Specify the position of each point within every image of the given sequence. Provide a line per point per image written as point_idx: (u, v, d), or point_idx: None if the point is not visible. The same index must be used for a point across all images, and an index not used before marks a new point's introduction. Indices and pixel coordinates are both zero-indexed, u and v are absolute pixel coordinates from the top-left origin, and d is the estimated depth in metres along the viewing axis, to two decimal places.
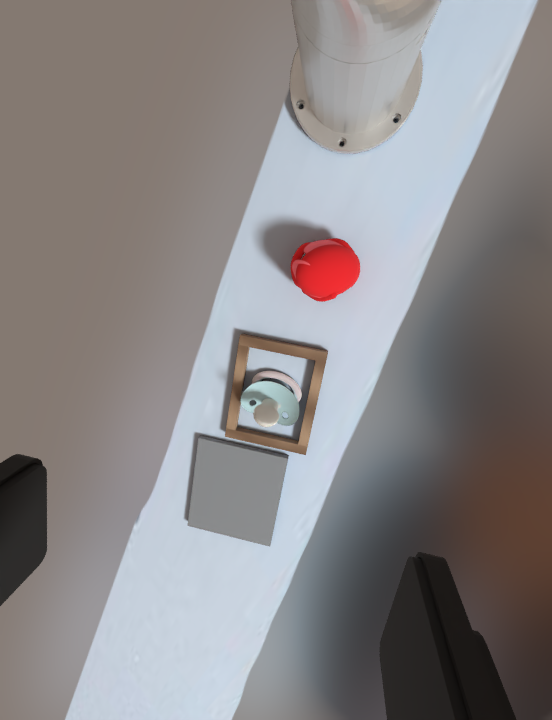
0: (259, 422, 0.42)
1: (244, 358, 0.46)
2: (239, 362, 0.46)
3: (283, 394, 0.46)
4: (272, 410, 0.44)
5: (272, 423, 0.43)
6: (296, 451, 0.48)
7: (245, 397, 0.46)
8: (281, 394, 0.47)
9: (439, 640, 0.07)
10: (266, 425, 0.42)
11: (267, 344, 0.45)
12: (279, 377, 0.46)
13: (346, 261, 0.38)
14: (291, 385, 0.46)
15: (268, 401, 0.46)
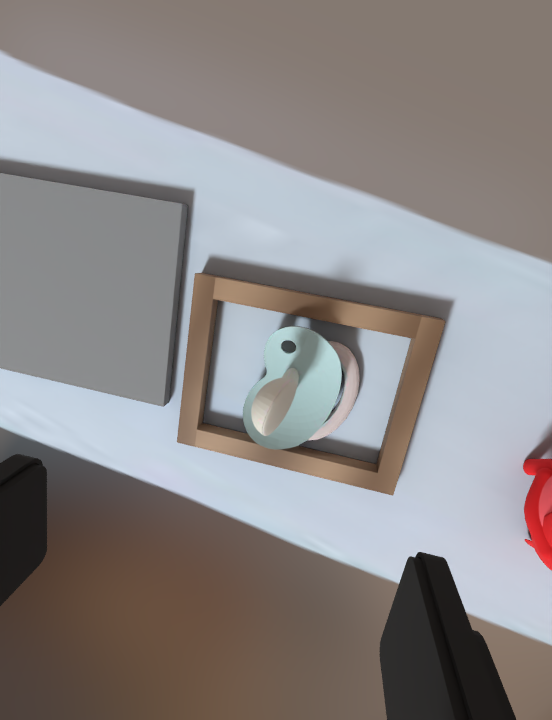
0: (265, 407, 0.17)
1: (387, 329, 0.20)
2: (377, 316, 0.20)
3: (309, 411, 0.22)
4: (285, 413, 0.19)
5: (263, 432, 0.18)
6: (181, 425, 0.24)
7: (303, 336, 0.20)
8: (309, 406, 0.22)
9: (439, 640, 0.07)
10: (258, 422, 0.17)
11: (418, 381, 0.21)
12: (345, 402, 0.22)
13: None
14: (328, 424, 0.22)
15: None
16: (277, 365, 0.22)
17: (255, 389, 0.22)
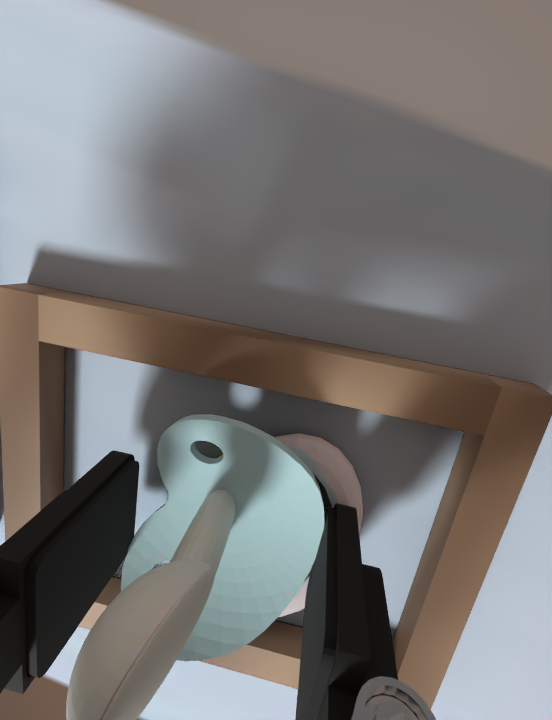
0: (86, 715, 0.06)
1: (419, 412, 0.09)
2: (398, 385, 0.09)
3: (259, 575, 0.11)
4: (186, 640, 0.08)
5: None
6: None
7: (235, 437, 0.09)
8: (258, 565, 0.11)
9: (331, 565, 0.08)
10: None
11: (485, 523, 0.09)
12: None
13: None
14: (299, 595, 0.11)
15: (225, 542, 0.09)
16: (188, 484, 0.10)
17: (147, 528, 0.11)
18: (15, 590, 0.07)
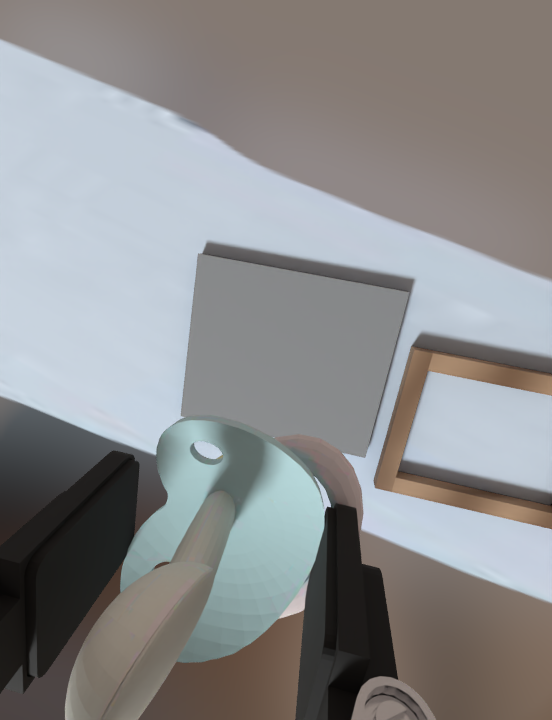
0: (85, 719, 0.06)
1: None
2: None
3: (259, 576, 0.11)
4: (185, 642, 0.08)
5: None
6: (381, 474, 0.27)
7: (234, 438, 0.09)
8: (258, 567, 0.11)
9: (330, 565, 0.08)
10: None
11: None
12: None
13: None
14: (299, 597, 0.11)
15: (224, 543, 0.09)
16: (188, 485, 0.10)
17: (147, 529, 0.11)
18: (15, 590, 0.07)
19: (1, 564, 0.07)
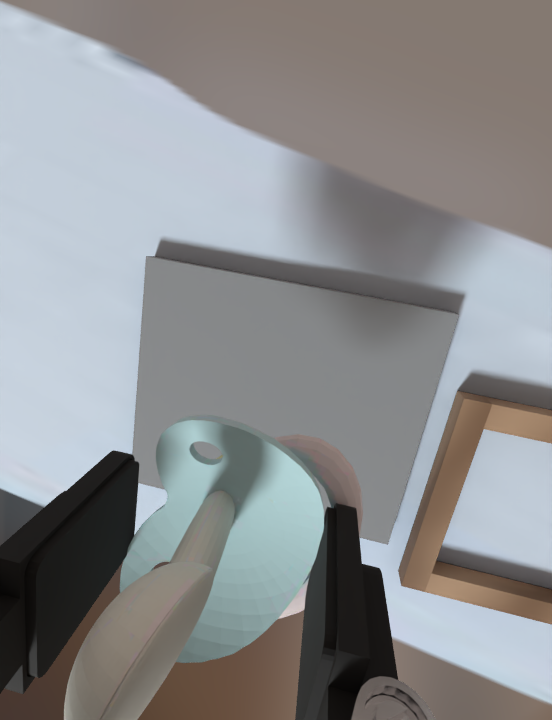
0: (84, 719, 0.06)
1: None
2: None
3: (259, 576, 0.11)
4: (185, 642, 0.08)
5: None
6: (411, 568, 0.19)
7: (234, 438, 0.09)
8: (258, 567, 0.11)
9: (330, 565, 0.08)
10: None
11: None
12: None
13: None
14: (298, 597, 0.11)
15: (224, 543, 0.09)
16: (187, 485, 0.10)
17: (146, 529, 0.11)
18: (15, 590, 0.07)
19: (1, 564, 0.07)
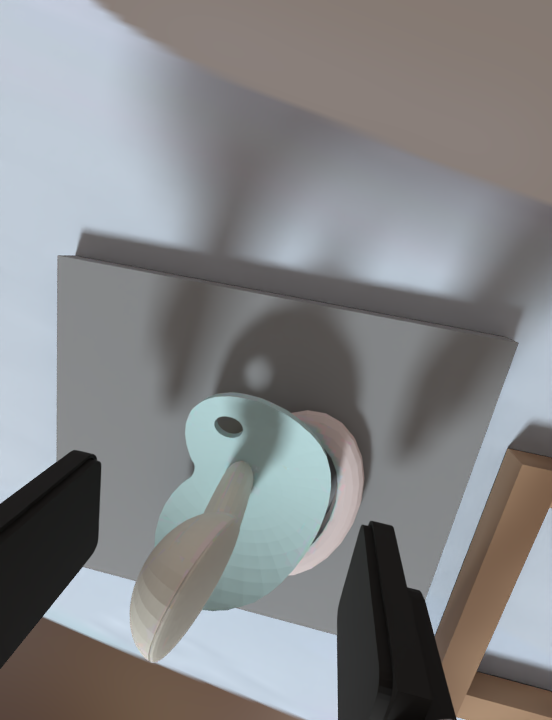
0: (149, 619, 0.07)
1: None
2: None
3: (275, 535, 0.12)
4: (218, 579, 0.09)
5: None
6: None
7: (254, 411, 0.10)
8: (274, 527, 0.12)
9: (375, 591, 0.07)
10: (139, 647, 0.07)
11: None
12: (340, 518, 0.12)
13: None
14: (310, 554, 0.13)
15: (246, 504, 0.11)
16: (212, 457, 0.12)
17: (176, 497, 0.12)
18: None
19: None
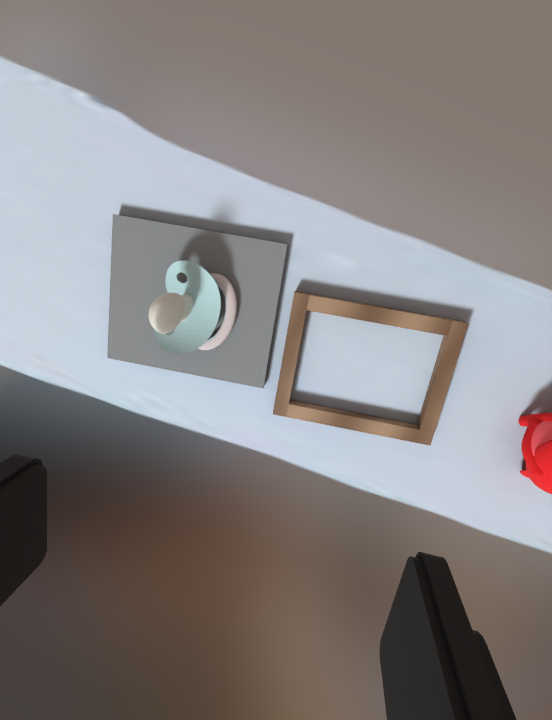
0: (154, 308, 0.25)
1: (429, 329, 0.30)
2: (423, 321, 0.29)
3: (202, 325, 0.30)
4: (176, 320, 0.28)
5: (156, 328, 0.26)
6: (277, 401, 0.33)
7: (189, 267, 0.29)
8: (201, 322, 0.30)
9: (439, 640, 0.07)
10: (151, 320, 0.26)
11: (449, 365, 0.30)
12: (227, 318, 0.30)
13: None
14: (217, 336, 0.31)
15: (188, 305, 0.29)
16: (176, 293, 0.30)
17: None
18: None
19: None
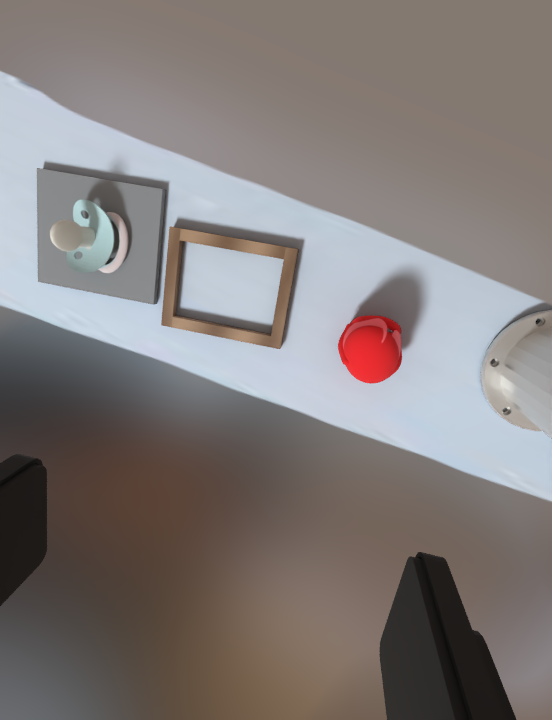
0: (52, 229, 0.35)
1: (269, 254, 0.39)
2: (264, 247, 0.39)
3: (102, 252, 0.40)
4: (75, 242, 0.38)
5: (56, 245, 0.36)
6: (163, 314, 0.42)
7: (88, 205, 0.39)
8: (102, 249, 0.40)
9: (439, 640, 0.07)
10: (51, 237, 0.36)
11: (287, 282, 0.39)
12: (121, 246, 0.40)
13: (380, 375, 0.37)
14: (114, 261, 0.41)
15: (89, 235, 0.39)
16: None
17: None
18: None
19: None
